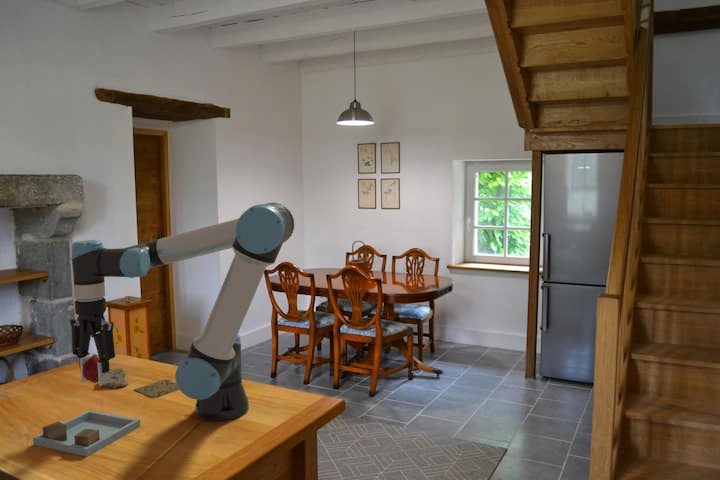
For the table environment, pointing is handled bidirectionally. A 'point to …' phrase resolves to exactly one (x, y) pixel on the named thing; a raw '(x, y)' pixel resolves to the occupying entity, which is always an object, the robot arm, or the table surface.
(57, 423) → the walnut cube
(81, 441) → the walnut cube
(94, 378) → the onion
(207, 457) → the table surface
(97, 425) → the dish
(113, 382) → the rock
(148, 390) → the speckled stone tile
